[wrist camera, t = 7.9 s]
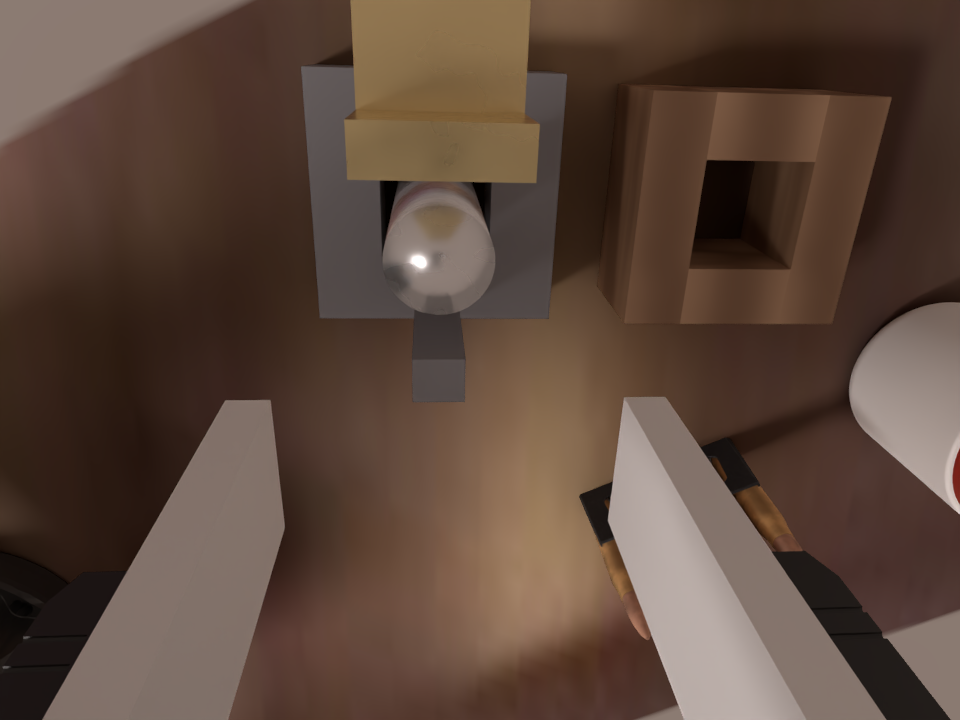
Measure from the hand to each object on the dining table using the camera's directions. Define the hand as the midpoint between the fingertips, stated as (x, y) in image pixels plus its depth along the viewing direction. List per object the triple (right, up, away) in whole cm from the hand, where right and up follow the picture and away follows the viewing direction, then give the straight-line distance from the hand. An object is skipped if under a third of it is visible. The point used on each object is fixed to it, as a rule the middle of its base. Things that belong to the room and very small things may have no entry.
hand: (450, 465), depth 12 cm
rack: (+13, +11, +25) cm, 31 cm away
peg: (-2, +11, +24) cm, 27 cm away
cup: (+29, +1, +32) cm, 43 cm away
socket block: (-2, +11, +24) cm, 27 cm away
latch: (-1, +13, +8) cm, 15 cm away
